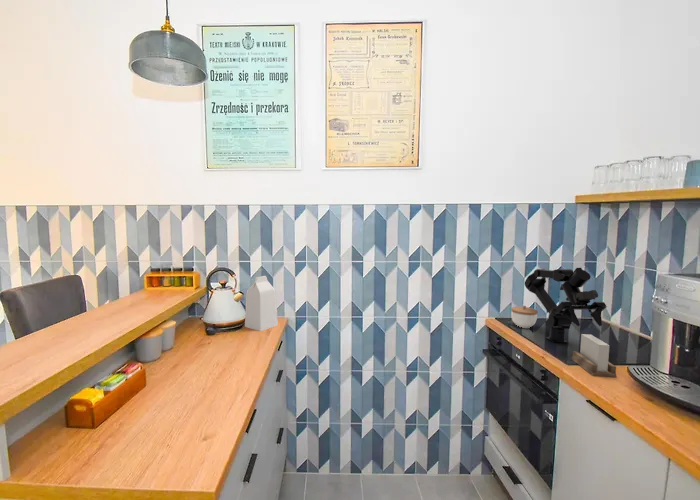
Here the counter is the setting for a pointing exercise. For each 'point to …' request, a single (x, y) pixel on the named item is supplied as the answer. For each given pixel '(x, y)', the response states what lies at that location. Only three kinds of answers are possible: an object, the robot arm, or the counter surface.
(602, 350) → the clay slab
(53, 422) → the counter surface
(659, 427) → the counter surface
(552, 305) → the robot arm
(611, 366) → the flanged channel block
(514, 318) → the lidded bowl
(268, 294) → the milk
